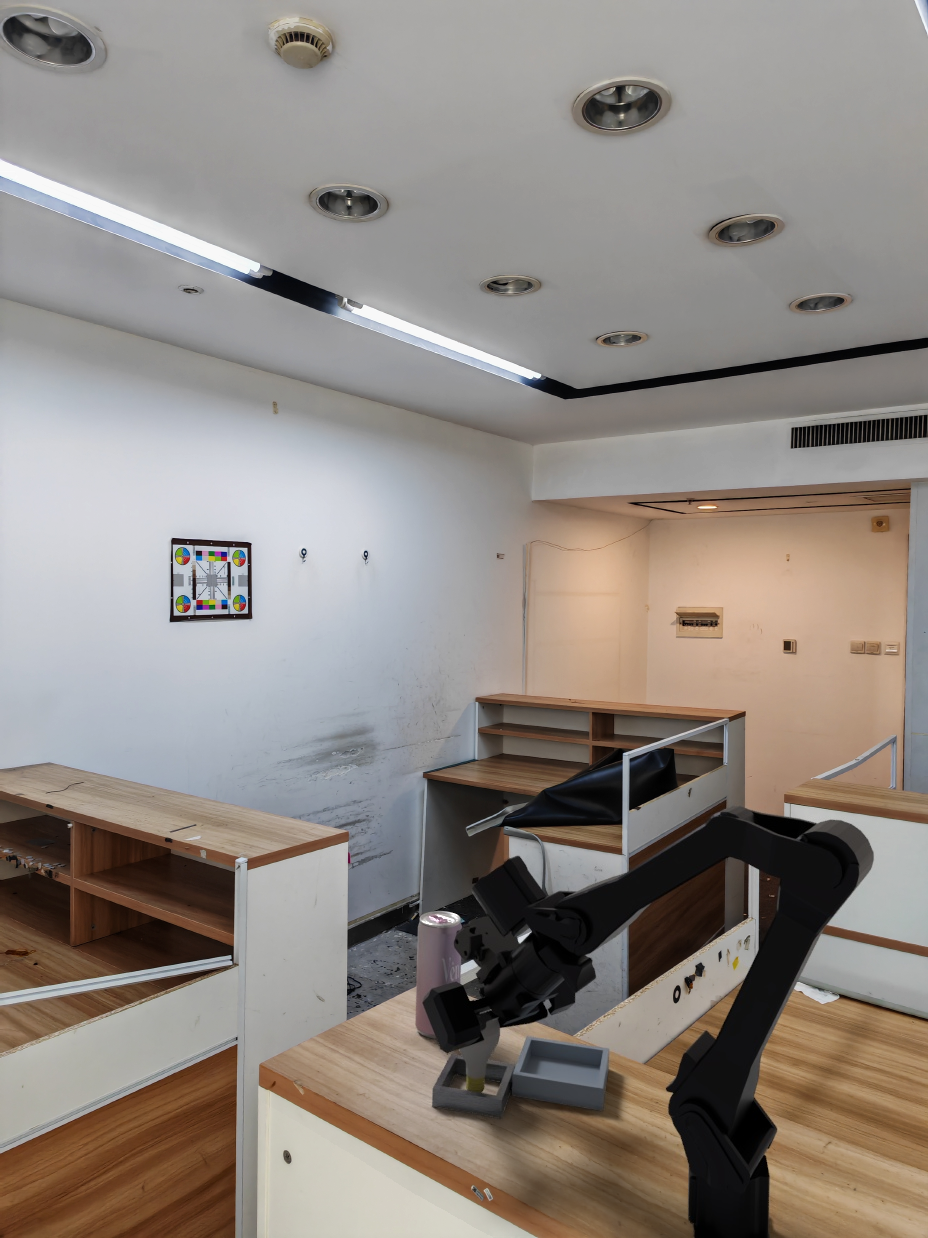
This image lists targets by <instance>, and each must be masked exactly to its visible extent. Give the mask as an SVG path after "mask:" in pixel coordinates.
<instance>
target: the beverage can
mask: <svg viewBox="0 0 928 1238" xmlns="http://www.w3.org/2000/svg"><path fill="white" fill-rule="evenodd" d="M461 920H462V919H461V916H460V915H458V914H456V913H453V912H450V911H443V910H437V911H436V910H435V911H429V912H424V913H423V914H421V915H420V917H419V923H418V926H417V949H416V952H417V953H416V956H417V957H416V988H415V989H416V990H415V992H416V993H415V1023H414V1024H415V1027H416V1030H417V1031H418V1033H419V1034H420V1035H421V1036H423V1037H425V1038H429V1039H435V1040H437V1039H436V1036H435V1034H434V1031H433V1029H432V1026H431V1024H430V1021H429V1019H428V1016H427V1014H426V1011H425V1009H424V1006H423V1004H422V1002H423V999H424V996H425V995H426V994H427V993H428V992H429V991H430V990H431V989H432V988H435V987H439V986H442V985H445V984H449V983H452V982H455V981H456V982H458V983H460V984H461V982H462V981H461V979H462V978H461V977H462V976H461V975H462V973H461V972H462V957H461V956H460V954H459V953H458V952H457V950H456V949H455V948H454V940H455V937H456V932H457V931H458V930H461V929H462V926H463V925H462V923H461Z"/></svg>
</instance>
